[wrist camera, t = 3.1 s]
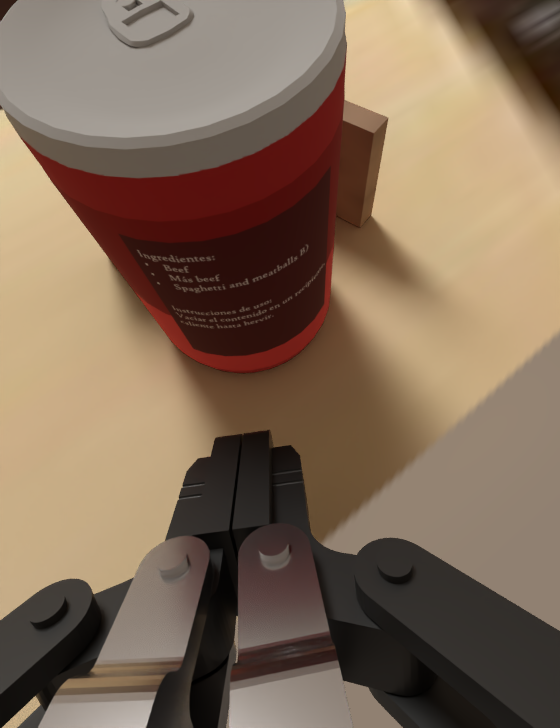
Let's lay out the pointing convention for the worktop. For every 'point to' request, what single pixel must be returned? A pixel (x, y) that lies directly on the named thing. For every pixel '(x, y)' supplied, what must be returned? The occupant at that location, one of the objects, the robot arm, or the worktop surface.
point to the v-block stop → (359, 162)
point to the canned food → (194, 155)
